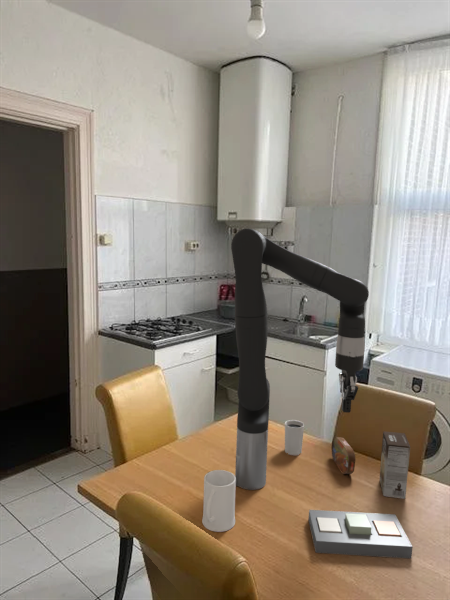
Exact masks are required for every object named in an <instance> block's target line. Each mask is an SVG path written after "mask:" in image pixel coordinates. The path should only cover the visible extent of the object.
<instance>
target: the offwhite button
mask: <svg viewBox="0 0 450 600" xmlns="http://www.w3.org/2000/svg"><path fill="white" fill-rule="evenodd" d="M317 525H318V529H319V532H325V533H341V529H340V526H339V523H338V520H337V518H320V517H317Z"/></svg>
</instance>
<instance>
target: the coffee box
mask: <svg viewBox="0 0 450 600" xmlns="http://www.w3.org/2000/svg"><path fill="white" fill-rule="evenodd" d="M410 453H411V446H410V443H409V441H408V437H407V435H406V433H405V432H394V431H382V444H381V454H380V455H381V456H380V468H379V469H380V470H379V484H380V487H381V491H382V492H381V493H382V496H384V497H387V498H388V497H389V498H394V499H395V498H396V499H397V498H398V499H404V500H405V499H406V496H407V495H406V494H407V485H408V484H407V483H408V474H409V464H410Z"/></svg>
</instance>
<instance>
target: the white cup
mask: <svg viewBox="0 0 450 600" xmlns="http://www.w3.org/2000/svg"><path fill="white" fill-rule="evenodd" d="M304 431H305V424H304V422H303V421H300V420H298V419H297V420H296V419H290V420H286V421H285V422H284V452H285V453H286V454H287V453H288V454H287V455H290V456H299V454H300V453H301V454H302V452H303V451H302V450H303V441H304ZM301 454H300V455H301Z"/></svg>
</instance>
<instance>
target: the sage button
mask: <svg viewBox="0 0 450 600" xmlns="http://www.w3.org/2000/svg"><path fill="white" fill-rule="evenodd" d="M345 524H346V527H347V530H348V533H349V534H359V535H371V525H370V523H369V521H368V518H367V516H366V514H348V513H346V515H345Z"/></svg>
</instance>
